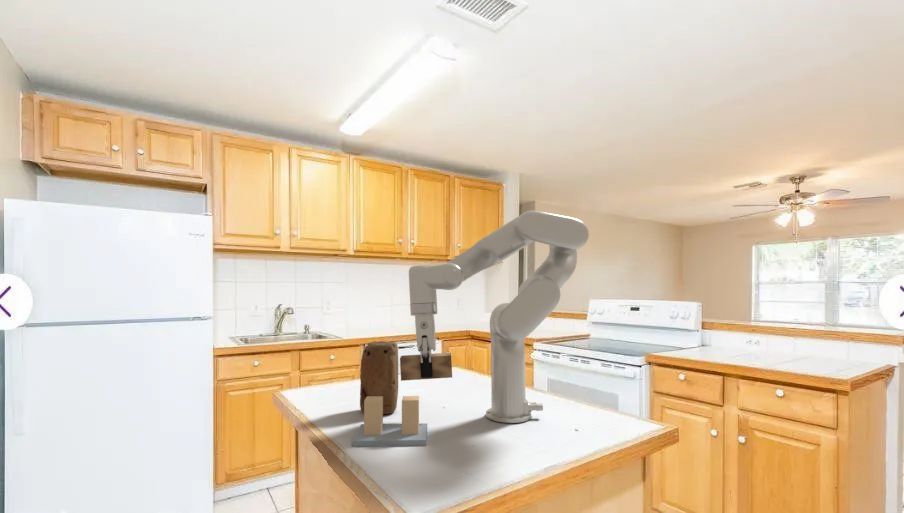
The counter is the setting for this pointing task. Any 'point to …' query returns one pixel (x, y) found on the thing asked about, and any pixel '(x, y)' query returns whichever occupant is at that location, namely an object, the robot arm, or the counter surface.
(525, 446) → the counter surface
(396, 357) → the brown rounded tall lump
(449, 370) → the beam
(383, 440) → the base
